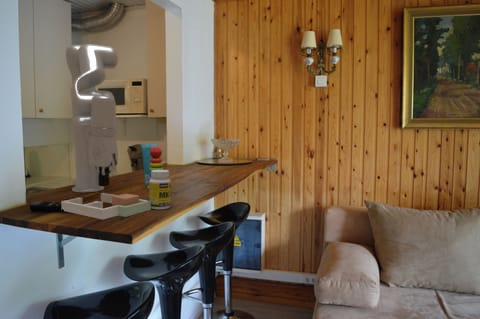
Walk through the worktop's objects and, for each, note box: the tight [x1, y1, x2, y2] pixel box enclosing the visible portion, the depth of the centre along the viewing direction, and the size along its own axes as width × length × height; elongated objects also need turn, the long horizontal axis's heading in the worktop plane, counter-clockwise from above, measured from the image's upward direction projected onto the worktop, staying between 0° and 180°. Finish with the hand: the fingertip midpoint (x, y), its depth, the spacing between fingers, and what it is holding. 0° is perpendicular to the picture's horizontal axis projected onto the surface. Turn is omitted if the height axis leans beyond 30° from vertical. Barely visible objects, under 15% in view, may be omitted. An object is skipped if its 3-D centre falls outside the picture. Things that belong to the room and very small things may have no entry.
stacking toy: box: [147, 146, 164, 190], centre depth 158 cm, size 8×8×19 cm
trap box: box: [61, 192, 152, 221], centre depth 121 cm, size 24×17×3 cm
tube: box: [140, 143, 159, 187], centre depth 168 cm, size 7×5×19 cm, turn 109°
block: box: [111, 193, 140, 207], centre depth 120 cm, size 6×6×5 cm
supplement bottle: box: [148, 169, 172, 210], centre depth 125 cm, size 7×7×13 cm
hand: (103, 185), depth 126 cm, fingers closed
